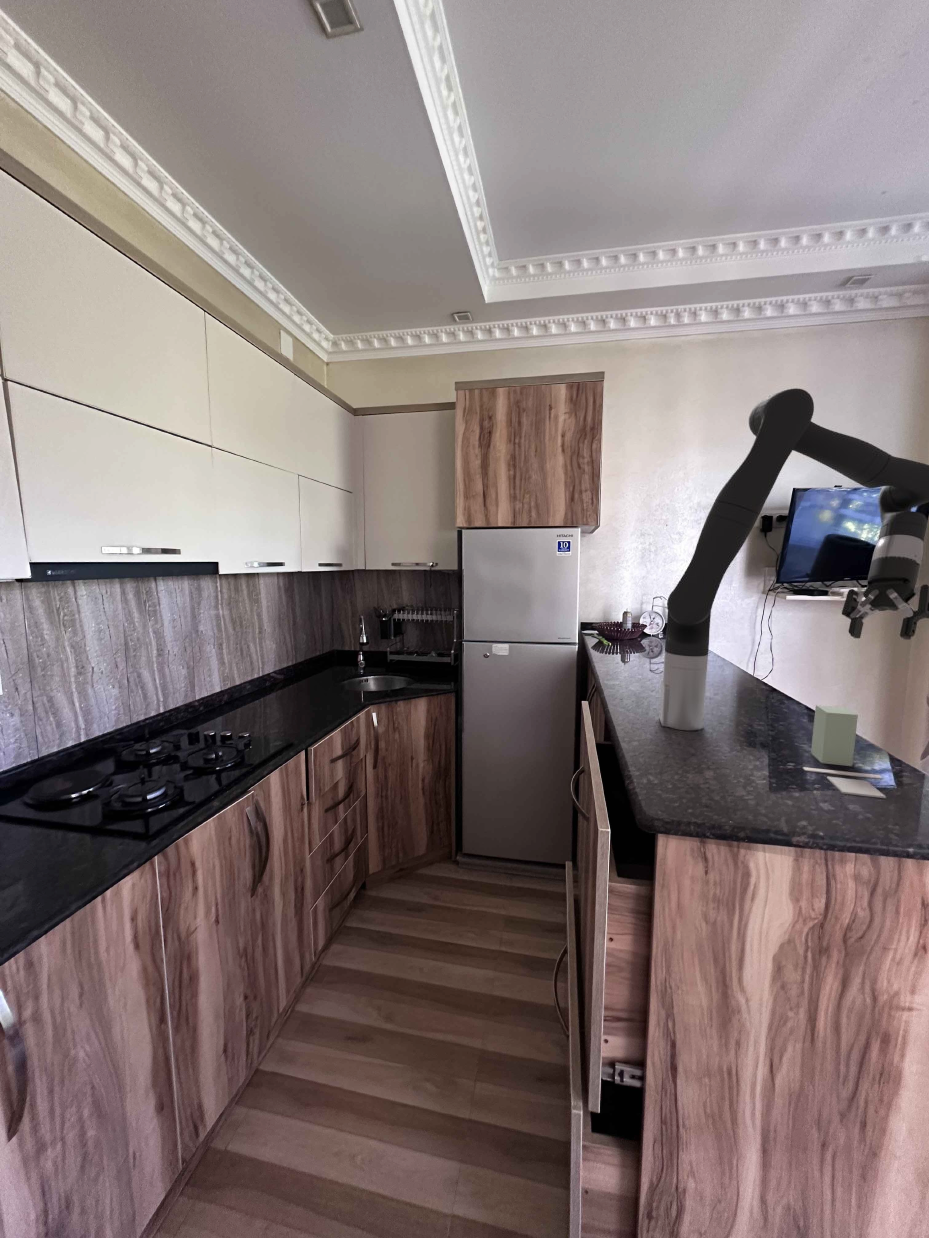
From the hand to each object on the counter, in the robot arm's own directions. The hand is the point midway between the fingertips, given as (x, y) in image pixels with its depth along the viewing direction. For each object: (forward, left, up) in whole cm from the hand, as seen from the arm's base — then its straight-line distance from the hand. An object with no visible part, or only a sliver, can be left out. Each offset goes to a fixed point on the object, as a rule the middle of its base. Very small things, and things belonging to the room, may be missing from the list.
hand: (879, 637), depth 96 cm
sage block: (-9, -6, -24) cm, 26 cm away
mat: (-10, -19, -23) cm, 32 cm away
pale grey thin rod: (-10, -13, -23) cm, 29 cm away
